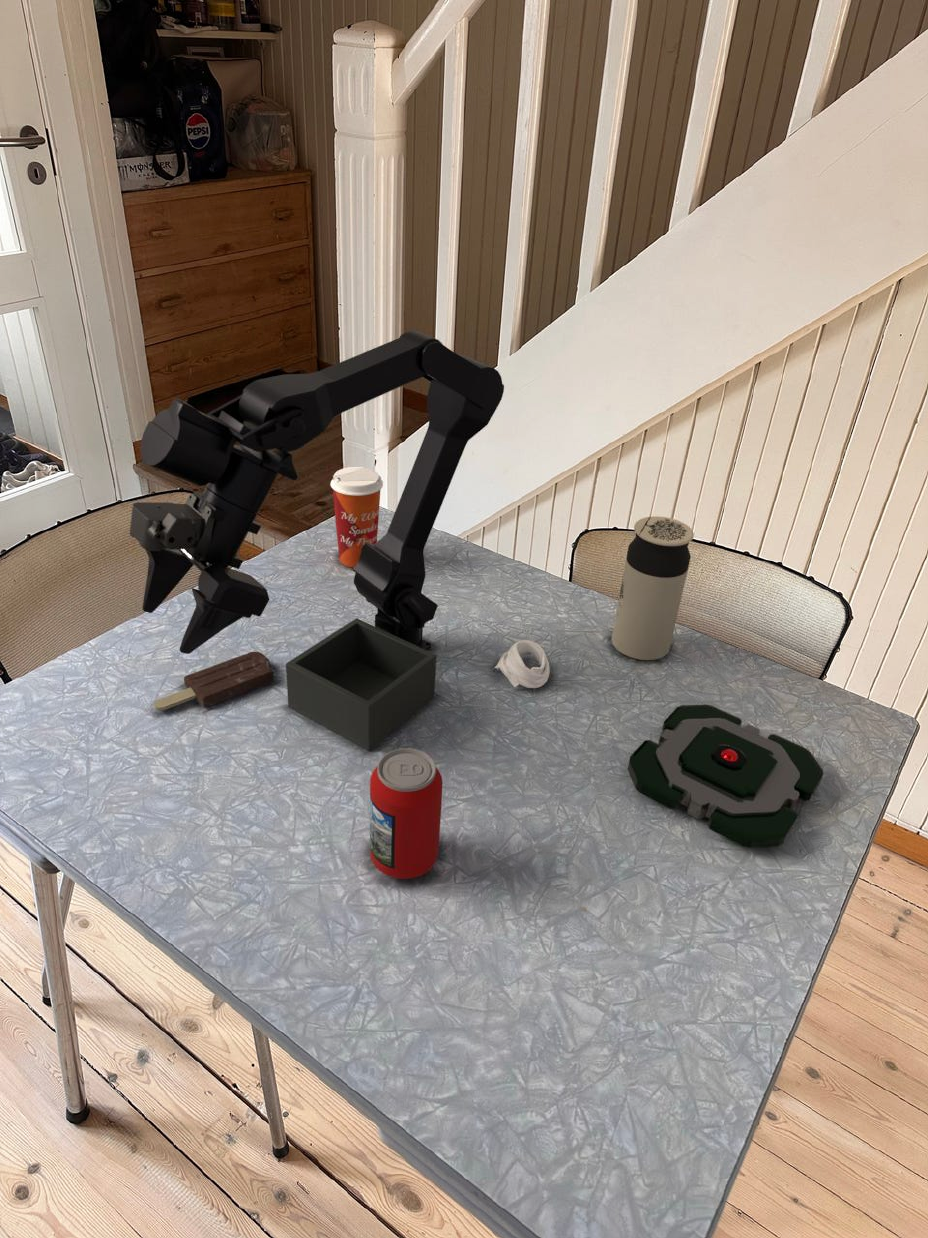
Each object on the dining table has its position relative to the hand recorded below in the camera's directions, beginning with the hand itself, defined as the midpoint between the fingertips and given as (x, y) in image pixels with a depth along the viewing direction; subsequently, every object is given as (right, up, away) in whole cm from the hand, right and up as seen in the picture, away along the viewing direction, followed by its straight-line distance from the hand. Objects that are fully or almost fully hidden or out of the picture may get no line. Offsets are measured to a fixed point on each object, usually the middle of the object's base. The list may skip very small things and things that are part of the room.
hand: (164, 631), depth 90 cm
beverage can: (+25, -22, -4) cm, 34 cm away
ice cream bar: (+1, -8, +16) cm, 17 cm away
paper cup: (+15, +11, +45) cm, 48 cm away
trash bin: (+19, -9, +15) cm, 26 cm away
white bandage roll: (+39, -6, +22) cm, 45 cm away
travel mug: (+56, -2, +29) cm, 63 cm away
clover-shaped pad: (+60, -17, +7) cm, 63 cm away
